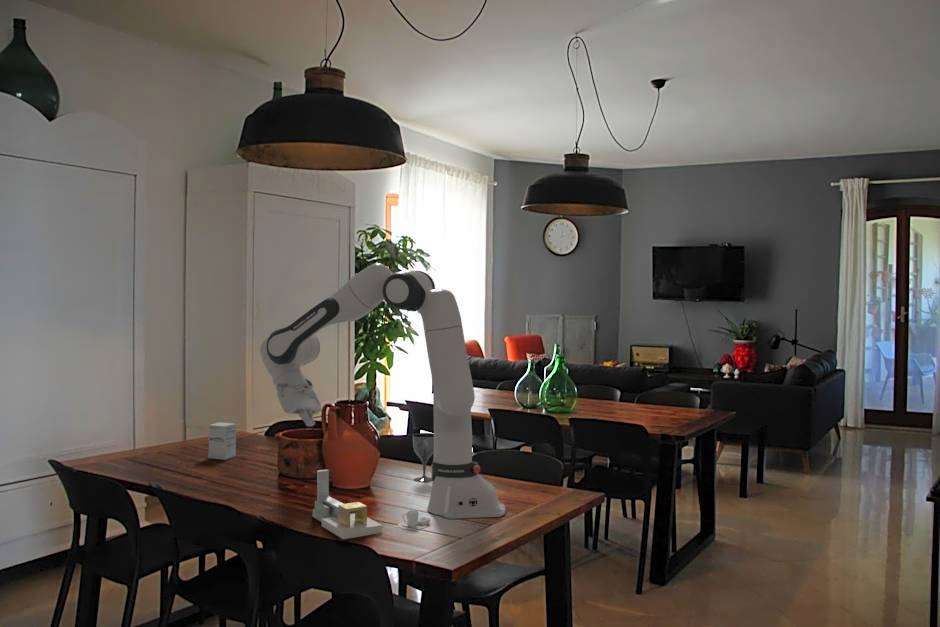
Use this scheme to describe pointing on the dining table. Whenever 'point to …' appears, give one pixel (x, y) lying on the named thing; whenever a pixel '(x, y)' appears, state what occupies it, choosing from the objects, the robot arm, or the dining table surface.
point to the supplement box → (222, 441)
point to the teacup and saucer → (414, 520)
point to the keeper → (349, 507)
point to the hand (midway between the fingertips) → (311, 425)
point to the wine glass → (423, 451)
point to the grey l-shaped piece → (326, 492)
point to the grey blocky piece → (321, 511)
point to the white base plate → (351, 527)
